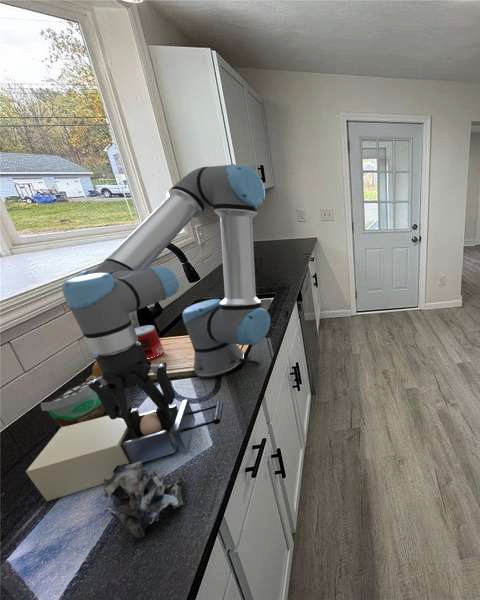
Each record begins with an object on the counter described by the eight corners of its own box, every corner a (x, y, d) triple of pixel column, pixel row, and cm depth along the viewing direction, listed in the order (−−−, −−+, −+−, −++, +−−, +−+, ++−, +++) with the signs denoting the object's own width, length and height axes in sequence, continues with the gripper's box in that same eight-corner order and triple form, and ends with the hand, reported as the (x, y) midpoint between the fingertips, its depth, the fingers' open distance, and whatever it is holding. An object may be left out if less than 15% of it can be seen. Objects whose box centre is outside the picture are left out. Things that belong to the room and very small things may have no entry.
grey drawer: (228, 410, 85) (221, 390, 83) (224, 440, 76) (216, 418, 73) (134, 437, 78) (123, 416, 76) (116, 474, 68) (103, 451, 66)
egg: (156, 441, 72) (148, 422, 70) (139, 440, 72) (130, 421, 70) (171, 427, 76) (164, 408, 74) (155, 426, 77) (147, 407, 74)
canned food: (162, 348, 122) (152, 323, 118) (166, 355, 117) (156, 329, 113) (138, 356, 117) (126, 330, 113) (141, 364, 112) (129, 337, 108)
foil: (87, 557, 51) (91, 464, 58) (122, 554, 59) (122, 473, 67) (171, 519, 55) (165, 437, 63) (192, 521, 64) (185, 448, 71)
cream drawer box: (149, 434, 80) (137, 407, 77) (132, 474, 69) (117, 445, 66) (77, 455, 75) (60, 427, 72) (46, 501, 64) (25, 471, 61)
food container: (74, 437, 81) (56, 406, 77) (56, 434, 82) (37, 404, 78) (122, 404, 92) (108, 376, 88) (106, 402, 93) (91, 374, 89)
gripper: (170, 330, 72) (200, 411, 80) (73, 349, 66) (117, 434, 74) (161, 345, 65) (195, 431, 74) (52, 367, 59) (103, 458, 68)
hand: (155, 432), depth 74 cm, fingers closed on egg, 4 cm apart
